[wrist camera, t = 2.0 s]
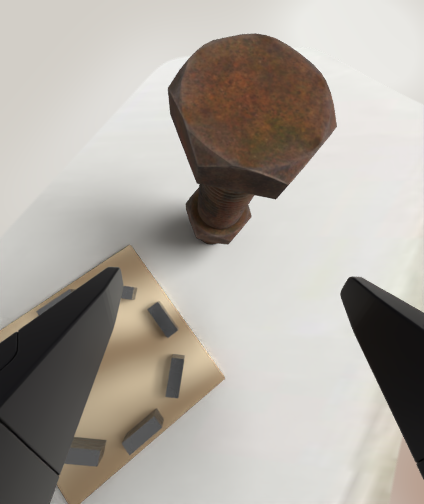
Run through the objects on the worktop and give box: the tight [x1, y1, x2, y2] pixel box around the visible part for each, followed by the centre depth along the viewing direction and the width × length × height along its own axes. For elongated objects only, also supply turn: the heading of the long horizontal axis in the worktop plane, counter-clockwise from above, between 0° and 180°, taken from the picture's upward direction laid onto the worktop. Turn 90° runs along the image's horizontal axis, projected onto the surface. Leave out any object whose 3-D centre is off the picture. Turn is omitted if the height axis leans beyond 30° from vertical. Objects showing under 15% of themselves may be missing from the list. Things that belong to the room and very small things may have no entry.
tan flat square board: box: [0, 245, 225, 504], centre depth 19 cm, size 14×14×1 cm
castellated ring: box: [36, 286, 185, 467], centre depth 18 cm, size 13×13×1 cm
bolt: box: [168, 34, 337, 244], centre depth 15 cm, size 6×5×15 cm
